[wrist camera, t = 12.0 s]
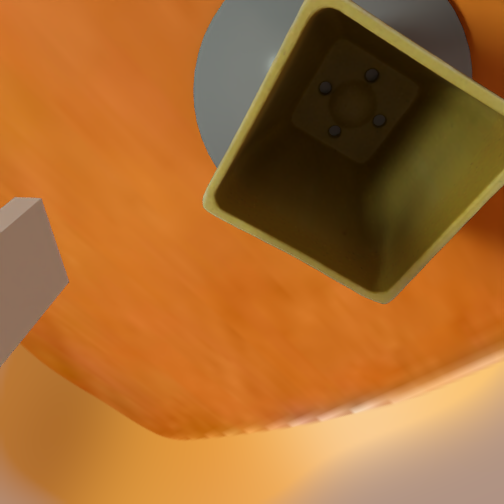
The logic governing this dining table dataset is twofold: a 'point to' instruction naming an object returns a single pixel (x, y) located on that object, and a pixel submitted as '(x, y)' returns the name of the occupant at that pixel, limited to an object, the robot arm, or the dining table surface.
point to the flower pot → (360, 152)
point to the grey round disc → (269, 42)
